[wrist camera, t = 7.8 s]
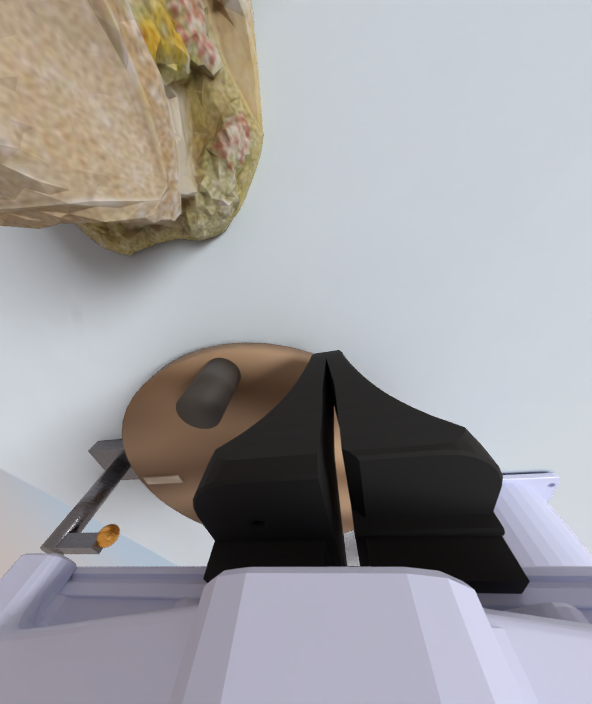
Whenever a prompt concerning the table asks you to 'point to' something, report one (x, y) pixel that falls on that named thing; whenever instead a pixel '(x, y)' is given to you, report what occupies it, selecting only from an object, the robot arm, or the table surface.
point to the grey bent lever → (93, 505)
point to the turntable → (210, 416)
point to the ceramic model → (128, 117)
